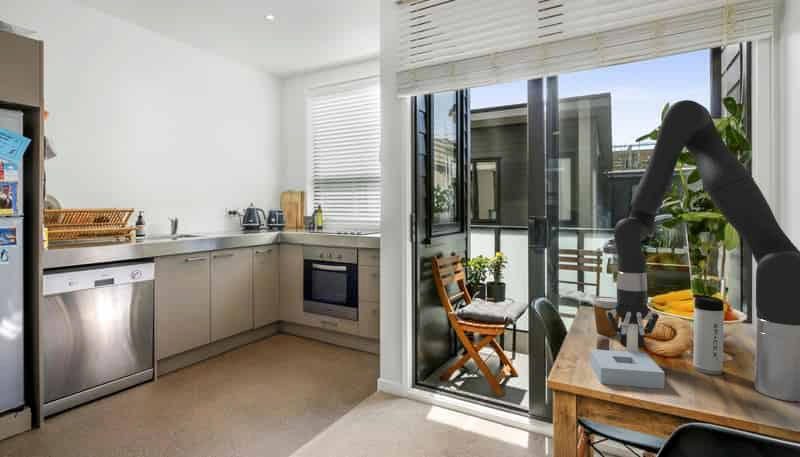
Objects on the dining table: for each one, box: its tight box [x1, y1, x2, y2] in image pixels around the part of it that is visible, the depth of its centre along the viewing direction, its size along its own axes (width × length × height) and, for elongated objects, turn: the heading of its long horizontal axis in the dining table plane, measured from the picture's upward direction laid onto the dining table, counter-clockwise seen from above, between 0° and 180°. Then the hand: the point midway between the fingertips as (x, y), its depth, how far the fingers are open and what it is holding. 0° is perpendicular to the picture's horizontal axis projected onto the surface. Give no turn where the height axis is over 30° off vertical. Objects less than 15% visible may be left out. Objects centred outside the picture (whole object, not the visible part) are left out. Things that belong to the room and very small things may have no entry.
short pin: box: [596, 336, 610, 350], centre depth 123 cm, size 3×3×5 cm
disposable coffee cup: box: [591, 296, 621, 337], centre depth 144 cm, size 10×10×12 cm
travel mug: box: [692, 293, 725, 376], centre depth 110 cm, size 6×7×20 cm
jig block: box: [589, 348, 665, 390], centre depth 108 cm, size 14×14×4 cm
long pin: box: [624, 323, 639, 352], centre depth 119 cm, size 3×3×10 cm
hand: (631, 346), depth 119 cm, fingers closed on long pin, 3 cm apart
